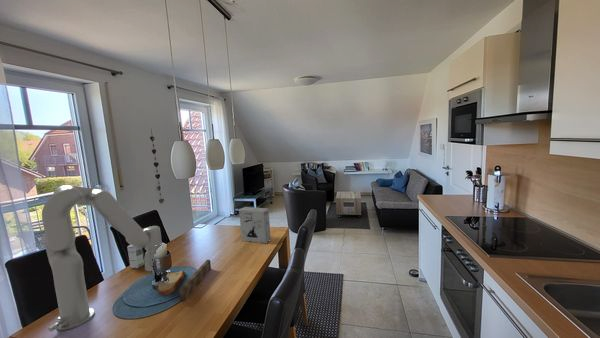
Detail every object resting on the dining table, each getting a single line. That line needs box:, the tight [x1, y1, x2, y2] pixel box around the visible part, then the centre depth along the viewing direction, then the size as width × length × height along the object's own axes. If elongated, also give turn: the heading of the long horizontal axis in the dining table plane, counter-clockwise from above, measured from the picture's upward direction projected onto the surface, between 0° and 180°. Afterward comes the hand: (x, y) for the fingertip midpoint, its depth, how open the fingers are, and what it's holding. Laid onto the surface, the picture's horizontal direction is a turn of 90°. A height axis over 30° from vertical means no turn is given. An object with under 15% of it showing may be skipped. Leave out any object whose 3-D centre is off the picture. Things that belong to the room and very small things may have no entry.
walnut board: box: [178, 259, 212, 302], centre depth 134 cm, size 30×2×6 cm, turn 176°
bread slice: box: [157, 270, 186, 296], centre depth 136 cm, size 18×18×4 cm
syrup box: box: [126, 244, 145, 269], centre depth 158 cm, size 6×6×14 cm
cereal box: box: [238, 206, 271, 244], centre depth 188 cm, size 22×8×25 cm, turn 67°
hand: (158, 280), depth 136 cm, fingers closed
